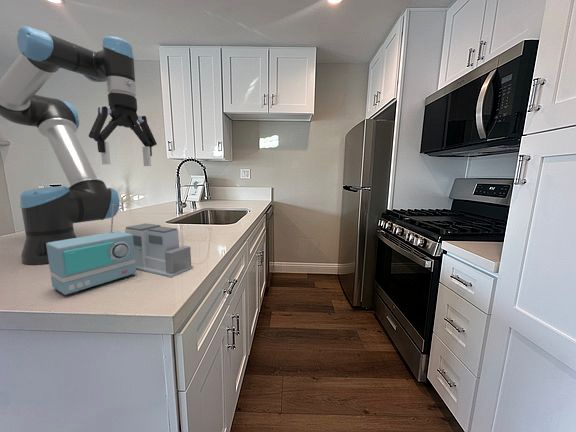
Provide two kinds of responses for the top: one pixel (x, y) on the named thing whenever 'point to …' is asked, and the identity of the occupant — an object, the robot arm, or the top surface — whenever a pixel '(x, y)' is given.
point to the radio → (90, 260)
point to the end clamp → (176, 258)
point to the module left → (140, 241)
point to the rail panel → (162, 267)
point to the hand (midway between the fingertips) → (128, 165)
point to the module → (161, 241)
